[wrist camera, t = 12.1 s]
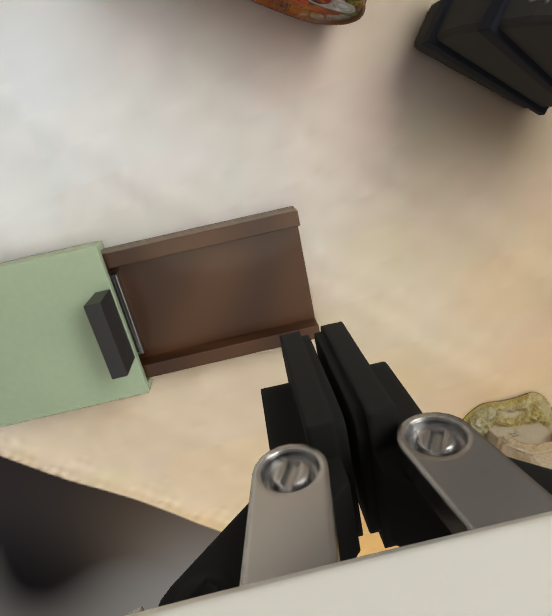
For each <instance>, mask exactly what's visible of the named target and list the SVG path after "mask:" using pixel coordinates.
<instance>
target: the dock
mask: <svg viewBox="0 0 552 616" xmlns="http://www.w3.org/2000/svg"><path fill="white" fill-rule="evenodd" d="M298 226H300V223H299V217H298V212H297V210H296V209H295V208H294V207H293V206H291V207H286V208H282V209H277V210H273V211H268V212H264V213H259V214H255V215H251V216H246V217H242V218H237V219H233V220H228V221H224V222H220V223H215V224H211V225H206V226H202V227H197V228H193V229H189V230H184V231H180V232H175V233H171V234H166V235H162V236H157V237H153V238H149V239H144V240H140V241H135V242H131V243H126V244H122V245H118V246H113V247H109V248H104V249H102V250H101V251H100V252H101V254H102V257H103V260H104V263H105V265H106V268H107V271H108V274H110V273H114V272H118V273H119V276H120V279H121V282H122V285H123V288H124V290H125V293H126V296H127V299H128V302H129V304H130V307H131V310H132V313H133V316H134V319H135V321H136V324H137V327H138V330H139V333H140V335H141V338H142V341H143V344H144V347H145V352H144V354H140V355H138V356H139V359H140V362H141V364H142V367H143V370H144V373H145V375H146V378H149V377H153V376H157V375H162V374H166V373H170V372H175V371H179V370H183V369H187V368H192V367H196V366H200V365H205V364H209V363H213V362H217V361H222V360H226V359H230V358H235V357H239V356H243V355H247V354H252V353H256V352H260V351H265V350H269V349H273V348H277V347H281V343H280V338H279V335H283V334H288V333H292V332H297V331H299V332H300V334H301V336H304V335H309V337H310V339H311V340H312V339H315V336H314V333H317V332H320V331H319V326H318V323H317V321H316V319H315V316H314V311H313V305H312V300H311V295H310V289H309V284H308V279H307V273H306V268H305V263H304V257H303V252H302V246H301V241H300V236H299V230H298Z"/></svg>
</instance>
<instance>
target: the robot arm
mask: <svg viewBox="0 0 552 616" xmlns="http://www.w3.org/2000/svg"><path fill="white" fill-rule="evenodd" d="M314 336H315V343H316V348H317V353H316V351H315V348H314V346H313V344H312V342H311V339H310V337H309V335H304V336H301V334H300V332H299V331H297V332H292V333H288V334H283V335H279V338H280V343H281V348H282V353H283V358H284V363H285V368H286V372H287V377H288V382H289V383H286V384H282V385H277V386H273V387H268V388H264V389H261V395H262V401H263V408H264V415H265V421H266V428H267V434H268V441H269V448H270V451H269V452H267V453H266V454H265V455H263V456H262V457H261V458H260V459H259V461H258V462H257V463H256V465H255V467H254V470H253V473H252V480H251V489H250V498H249V503H248V504H247V505H246V506H245V508H244V509H243V510H242V511H241V512H240V513H239V514H238V515H237V516H236V517H235V518H234V519H233V520H232V522H231V523H230V524H229V525H228V526H227V527H226V528H225V529H224V530H223V531H222V532H221V533H220V534H219V536H218V537H217V538H216V539H215V540H214V541H213V542H212V543H211V544H210V545H209V546H208V547H207V548H206V550H205V551H204V552H203V553H202V554H201V555H200V556H199V557H198V558H197V559H196V560H195V561H194V562H193V564H192V565H191V566H190V567H189V568H188V569H187V570H186V571H185V572H184V573H183V575H182V576H180V578H179V579H178V580H177V581H176V582H175V583H174V584H173V585H172V586H171V587H170V589H169V590H168V591H167V593H166V594H165V595H164V597H163V598H162V600H161V601H160V604H159V606H158V607H156V608H152V609H149V610H145V611H144V609H143V607H141V608H138V609H136V610H134V611H132V612H130V613H128V614H126V615H124V616H552V469H549V468H545V467H542V466H538V465H535V464H531V463H528V462H524V461H521V460H517V459H514V458H510V457H507V456H506V455H505V454H503V453H502V452H501V451H500V450H499V449H498V448H496V447H495V446H494V445H493V444H492V443H491V442H489V441H488V440H487V439H486V438H485V437H484V436H483V435H481V434H480V433H479V432H478V431H477V430H476V429H474V428H473V427H472V426H471V425H470V424H468V423H467V422H465V421H464V420H462V419H461V418H458V417H456V416H453V415H450V414H445V413H439V412H432V413H422V412H421V410H420V409H419V407H418V406H417V405H416V403H415V402H414V401H413V399H412V398H411V396H410V395H409V394H408V392H407V391H406V389H405V388H404V387H403V385H402V384H401V382H400V381H399V380H398V378H397V377H396V376H395V374H394V373H393V371H392V370H391V369H390V367H389V366H388V364H387V363H386V362H379V363H375V364H371V365H369V363H368V362H367V360H366V359H365V357H364V356H363V354H362V352H361V351H360V349H359V348H358V346H357V345H356V343H355V341H354V340H353V338H352V337H351V335H350V334H349V332H348V331H347V329H346V327H345V326H344V324H343V323H342V322H337V323H333V324H328V325H324V326H321V332H317V333H314ZM317 354H318V355H317ZM358 503H359V505H360V508H361V511H362V514H363V516H364V519H365V522H366V524H367V527H368V530H369V532H370V533H376V532H379V534H380V536H381V539H382V541H383V544H384V547H385V548H388V547H392V546H396V545H397V546H399V547H398V548H394V549H390V550H386V551H382V552H378V553H373V554H369V555H365V556H361V557H357V555H358V553H359V552H360V544H359V538H358V537H359V536H363V530H362V524H361V517H360V511H359V505H358ZM356 557H357V558H356Z"/></svg>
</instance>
